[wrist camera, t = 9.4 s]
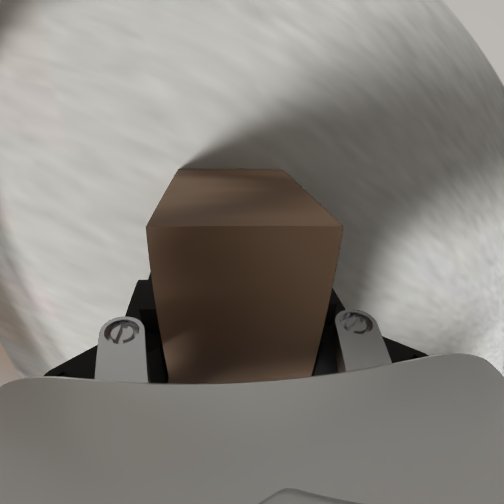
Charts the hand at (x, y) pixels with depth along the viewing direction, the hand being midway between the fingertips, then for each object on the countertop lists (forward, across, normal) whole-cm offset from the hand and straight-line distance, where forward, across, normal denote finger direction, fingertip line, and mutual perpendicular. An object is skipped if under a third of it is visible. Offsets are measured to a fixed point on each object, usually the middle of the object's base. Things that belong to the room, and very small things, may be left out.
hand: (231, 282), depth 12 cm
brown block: (+1, 0, +5) cm, 5 cm away
